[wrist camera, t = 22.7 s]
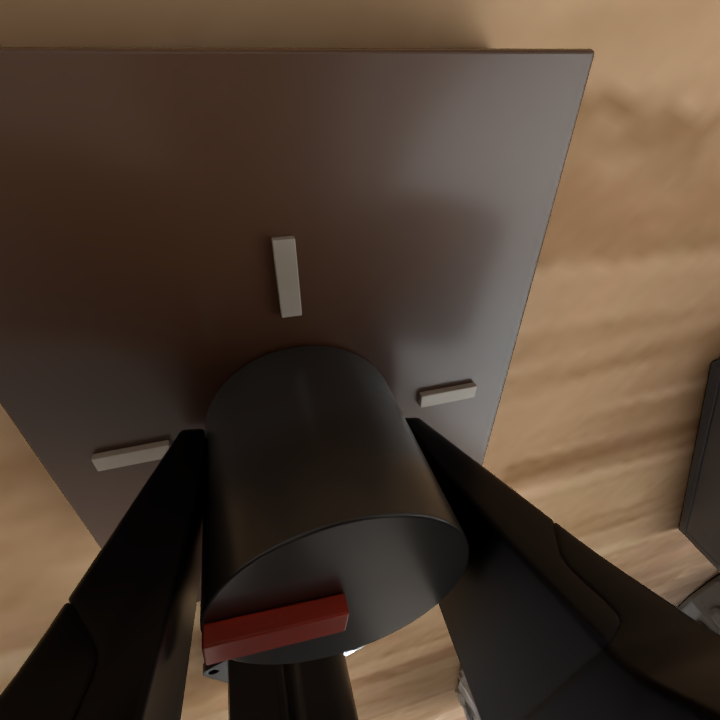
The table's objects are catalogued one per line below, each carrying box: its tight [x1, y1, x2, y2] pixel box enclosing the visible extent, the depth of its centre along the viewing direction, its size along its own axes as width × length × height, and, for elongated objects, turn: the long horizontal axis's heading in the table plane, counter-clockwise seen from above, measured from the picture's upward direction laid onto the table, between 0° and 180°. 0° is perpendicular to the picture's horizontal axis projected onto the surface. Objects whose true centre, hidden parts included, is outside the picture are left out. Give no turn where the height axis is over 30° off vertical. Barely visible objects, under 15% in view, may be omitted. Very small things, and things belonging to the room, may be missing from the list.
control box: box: [0, 47, 594, 602], centre depth 10 cm, size 13×10×3 cm
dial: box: [200, 346, 469, 665], centre depth 7 cm, size 4×4×4 cm
